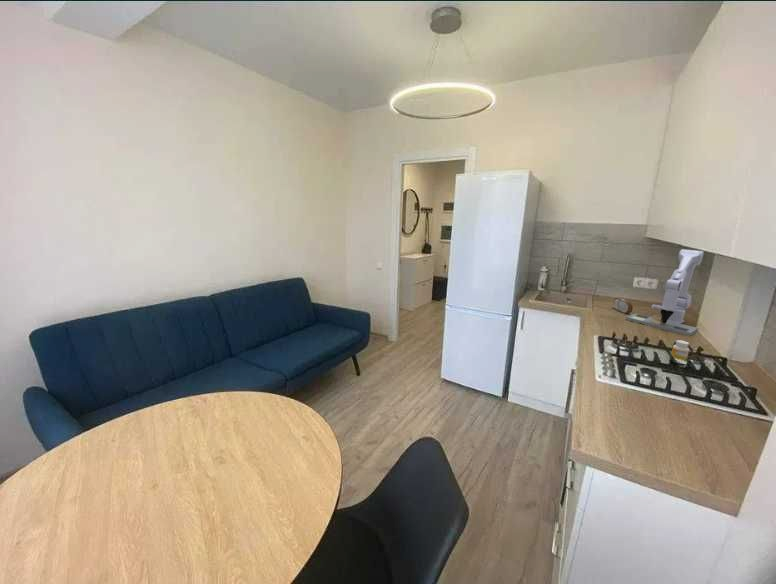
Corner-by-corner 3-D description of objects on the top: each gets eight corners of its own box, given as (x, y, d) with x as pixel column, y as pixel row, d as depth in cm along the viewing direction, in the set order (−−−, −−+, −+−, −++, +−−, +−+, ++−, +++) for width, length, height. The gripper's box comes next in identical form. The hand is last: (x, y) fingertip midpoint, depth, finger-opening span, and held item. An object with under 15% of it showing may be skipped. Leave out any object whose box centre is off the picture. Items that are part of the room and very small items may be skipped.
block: (653, 321, 189) (655, 314, 188) (662, 323, 186) (663, 316, 185) (651, 322, 187) (652, 315, 186) (659, 324, 183) (661, 317, 182)
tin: (631, 315, 206) (634, 302, 204) (626, 315, 206) (629, 302, 204) (616, 308, 221) (618, 296, 219) (611, 308, 221) (613, 296, 219)
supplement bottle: (670, 358, 144) (675, 338, 142) (686, 362, 140) (692, 342, 138) (668, 361, 141) (673, 341, 138) (684, 366, 137) (690, 345, 134)
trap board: (634, 316, 204) (634, 313, 203) (697, 331, 180) (698, 328, 180) (625, 320, 196) (626, 317, 195) (690, 336, 172) (691, 332, 172)
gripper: (652, 298, 183) (646, 320, 187) (685, 304, 172) (678, 328, 175) (656, 296, 187) (650, 318, 191) (688, 302, 176) (682, 325, 179)
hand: (664, 323), depth 183 cm, fingers closed
